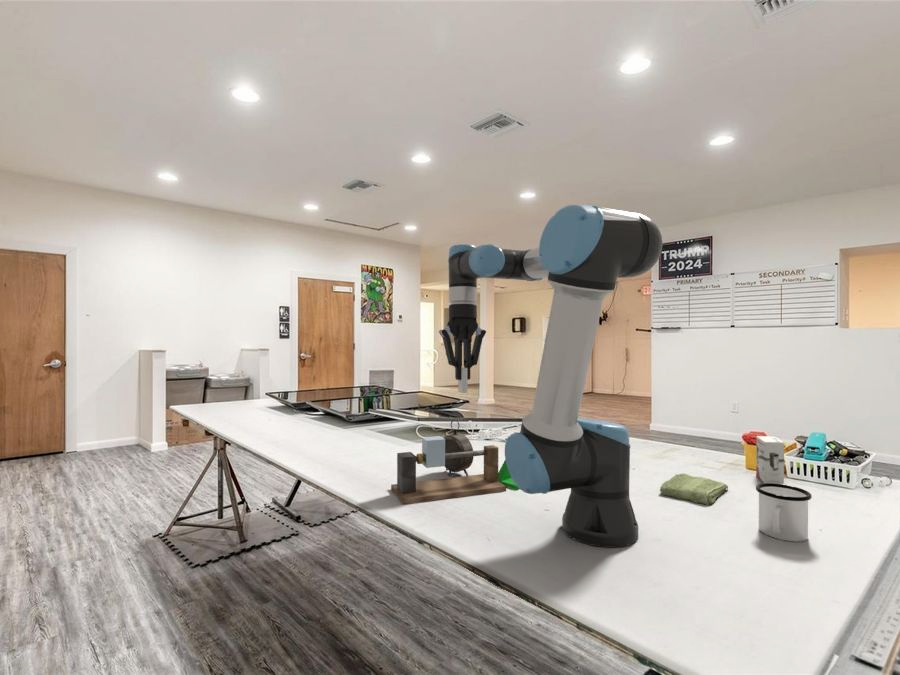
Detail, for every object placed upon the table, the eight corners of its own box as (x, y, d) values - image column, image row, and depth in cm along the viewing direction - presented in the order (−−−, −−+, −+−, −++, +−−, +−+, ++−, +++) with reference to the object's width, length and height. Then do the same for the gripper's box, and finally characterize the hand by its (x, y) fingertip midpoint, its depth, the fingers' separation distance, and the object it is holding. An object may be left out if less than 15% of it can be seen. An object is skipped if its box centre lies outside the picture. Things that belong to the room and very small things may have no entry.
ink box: (755, 474, 139) (755, 435, 139) (774, 476, 137) (774, 436, 137) (764, 483, 130) (764, 441, 130) (784, 485, 129) (785, 442, 129)
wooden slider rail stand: (486, 477, 135) (486, 441, 135) (506, 490, 124) (506, 451, 124) (391, 489, 125) (391, 450, 125) (403, 504, 114) (403, 461, 114)
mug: (760, 520, 104) (760, 480, 104) (814, 533, 97) (814, 489, 97) (747, 537, 95) (748, 493, 95) (805, 552, 89) (806, 504, 89)
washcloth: (730, 491, 126) (730, 479, 126) (711, 508, 113) (711, 495, 113) (678, 480, 135) (678, 469, 135) (655, 495, 122) (655, 483, 122)
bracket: (517, 491, 125) (517, 465, 125) (494, 484, 130) (494, 460, 130) (543, 481, 133) (543, 457, 133) (520, 475, 139) (520, 452, 139)
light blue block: (439, 462, 126) (439, 436, 126) (445, 466, 122) (445, 439, 122) (422, 464, 124) (422, 437, 124) (426, 468, 120) (426, 440, 120)
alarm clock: (474, 476, 136) (474, 420, 136) (461, 480, 132) (461, 423, 132) (448, 469, 144) (448, 416, 144) (435, 472, 140) (435, 418, 140)
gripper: (479, 305, 131) (479, 389, 131) (435, 304, 127) (435, 391, 127) (490, 303, 124) (491, 392, 124) (444, 302, 120) (444, 394, 120)
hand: (462, 392), depth 126 cm, fingers closed
